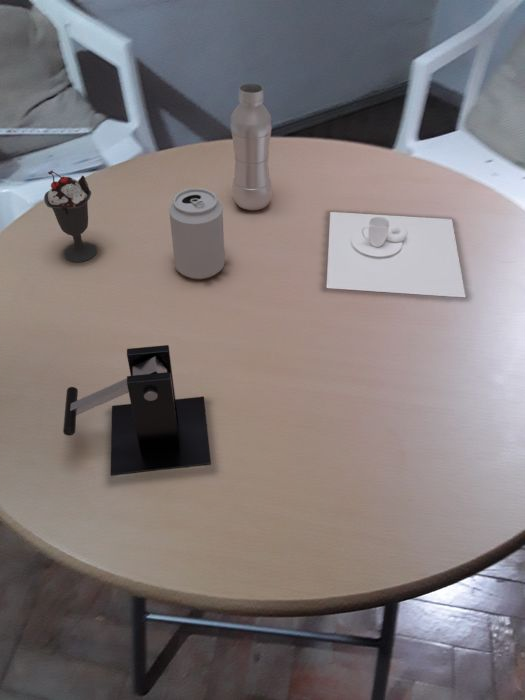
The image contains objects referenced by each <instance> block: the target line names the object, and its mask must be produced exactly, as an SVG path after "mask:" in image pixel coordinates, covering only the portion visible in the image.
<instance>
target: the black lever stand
mask: <svg viewBox="0 0 525 700" xmlns="http://www.w3.org/2000/svg"><path fill="white" fill-rule="evenodd" d="M155 356H156V358H157V359H158V360H159V361H160V362H161V363H162V364H163V365H164V367H165V368H166V369H167V372H165V373H155V374H144V375H134V376H133V366H135V365H137V364H139V363H141V362H144V361H146V360H148V359H150V358H153V357H155ZM126 357H127V363H128V368H129V373H130V375H127V376H126V378H127V386H128V391H129V392H128V396H129V402H130V403H125V404H116V405H111V430H110V431H111V433H110V434H111V435H110V436H111V437H110V476H120V475H130V474H138V473H139V474H140V473H146V472H147V473H149V472H156V471H165V470H175V469H183V468H185V469H186V468H192V467H202V466H210V465H212V462H211V453H210V442H209V433H208V423H207V416H206V415H207V413H206V405H205V404H206V403H205V396H195V397H186V398H176V392H175V384H174V377H173V375H174V374H173V369H172V361H171V360H172V359H171V352H170V346H169V344H164V345H154V346H153V345H151V346H142V347H131V348H127V349H126Z"/></svg>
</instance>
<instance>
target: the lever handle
mask: <svg viewBox="0 0 525 700" xmlns="http://www.w3.org/2000/svg"><path fill="white" fill-rule="evenodd" d="M165 372H167V369H166V368H165V367H164V365H163V364H162V363H161V362H160V361H159V360H158V359H157V358H156V356H155V357H153V358H150V359H148V360H146V361H144V362H141V363H139V364H137V365H135V366H133V376H134V375H144V374H155V373H165ZM65 394H66V395H65V406H64V407H65V408H64V416H63V417H64V418H63V430H62V433H63V434H64V435H65V436H73V435H75V433H76V426H77V425H76V424H77V416H79V415H80V414H83V413H85V412H88V411H89V410H92V409H95V408H96V407H98V406H101V405H104V404H106V403H108V402H111V401H112V400H115V399H117V398H119V397H121V396H123V395H126V394H129V391H128V386H127V377H126V378H125V379H122V380H120V381H118V382H115V383H113V384H111V385H109V386H106V387H104V388H102V389H100V390H97V391H96V392H93V393H91V394H88V395H87V396H83V397H82V398H79V397H78V395H79V389H78V388H77V387H75V386H70V387H67V389H66V393H65ZM78 398H79V399H78Z"/></svg>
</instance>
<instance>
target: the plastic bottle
mask: <svg viewBox="0 0 525 700" xmlns="http://www.w3.org/2000/svg"><path fill="white" fill-rule="evenodd" d="M264 91H265V90H264V86H263V85H261V84H259V83H255V82H246V83H243V84H241V85H240V86H239V87H238V96H237V100H238V102H239V103H238V105H237V106H236V107H235V108H234V110H233V112H232V113H231V116H230V118H229V119H230V120H229V126H230V127H229V128H230V131H231V132H230V133H231V137H232V138H231V139H232V144H233V152H234V174H233V175H234V177H233V181H232V188H231V189H232V190H231V192H232V197H233V200H234V202H235V203H236V205H237V206H238V207H240V208H241V209H243V210H246V211H247V210H248V211H258V210H262V209H264V208H266V207H267V206H268V205H269V204H270V202H271V200H272V195H273V188H272V182H271V181H272V180H271V178H270V166H269V158H270V157H269V154H270V143H271V135H272V129H273V120H272V117H271V114H270V111H269V110H268V108H266V106H265V104H264V102H265V95H264V93H265V92H264Z"/></svg>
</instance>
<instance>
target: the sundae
mask: <svg viewBox="0 0 525 700" xmlns="http://www.w3.org/2000/svg"><path fill="white" fill-rule="evenodd" d="M47 174H48V175H51V176H52V182H51V184H50V187H51V188H50V189H49V190H48V191H47V192H45V194H44V196H43V200H44V204H45V205H46V206H47V208H49V209H52V211H53V213H54V216H55V219H56V220H57V223H58V225H59V228H60V229H61V231H62V232H63V233H65V234H66V235H68V236H72V238H73V243H72V244H70V245H68V246H67V247H66V248H65V250H64V252H63V255H64V258H65V259H66V260H68V261H70V262H73V263H83V262H87V261H89V260H91V259H93V258H94V257H95V256H96V254H97V252H98V249H97V247H96V246H95V245H94V244H92V243H91V242H85V241H84V242H83V239H82V234H84V232H85V231H86V230H87V229H88V226H89V207H88V206H89V205H88V202H89V201H90V198H91V196H92V190H91V189H90V188H89V184H88V181H87V180H86V177H85V176H84V175H81V177H80V178H79V180H77V179H75V178H74V177H71V176H61V175H60V174H58V173H56V172H54V170H53V169H52V170H50V171H47ZM54 175H55V176H57V177H59V179H58V180H55V176H54Z"/></svg>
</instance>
